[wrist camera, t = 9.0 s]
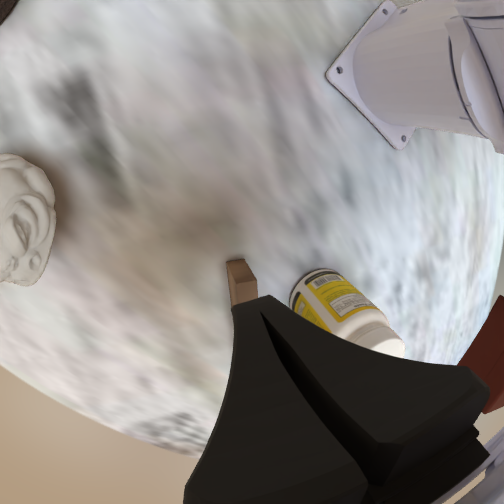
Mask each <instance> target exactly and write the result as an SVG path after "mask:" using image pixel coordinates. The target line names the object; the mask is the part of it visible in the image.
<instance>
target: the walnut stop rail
mask: <svg viewBox="0 0 504 504" xmlns="http://www.w3.org/2000/svg"><path fill="white" fill-rule="evenodd" d="M226 265H227V274H228V282H229V290H230V298H231V306H232V307H233V305H236V304H239V303H243V302H246V301H250V300H253V299H256V298H258V290H257V279H256V278H255V276H254V274H253V273H252V271H251V269H250V268H249V266H248V264H247V263H246V261H245V259H240V260H235V261H229V262H226ZM233 322H234V319H233Z"/></svg>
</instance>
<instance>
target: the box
mask: <svg viewBox="0 0 504 504" xmlns="http://www.w3.org/2000/svg"><path fill="white" fill-rule="evenodd" d="M457 366H467V367H469V368H470V369H471V370H472V371H473V372H474V373H475V374H476V375H478V376H479V377H480V378H481V379H482V380H483V381H484V382H485V383H486V384H487V385H488V386H489V387H490V396H489V399H488V401H487V403H486V405H485V407H484V409H483V410H482V413H483V414H487V413H489V412H492V411H494V410H496V409H498V408H501V407H503V406H504V297H503V296H502V295H499V296H498V298H497V300H496V302H495V303H494V305H493V307H492V309H491V311H490V312H489V314H488V318H487V319H486V321H485V323H484V324H483V326H482V328H481V329H480V331H479V333H478V334H477V336H476V337H475V339H474V341H473V342H472V344H471V345H470V347H469V348H468V350H467V351H466V353H465V354H464V356H463V357H462V358H461V360H460V361H459V363H458V364H457Z"/></svg>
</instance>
